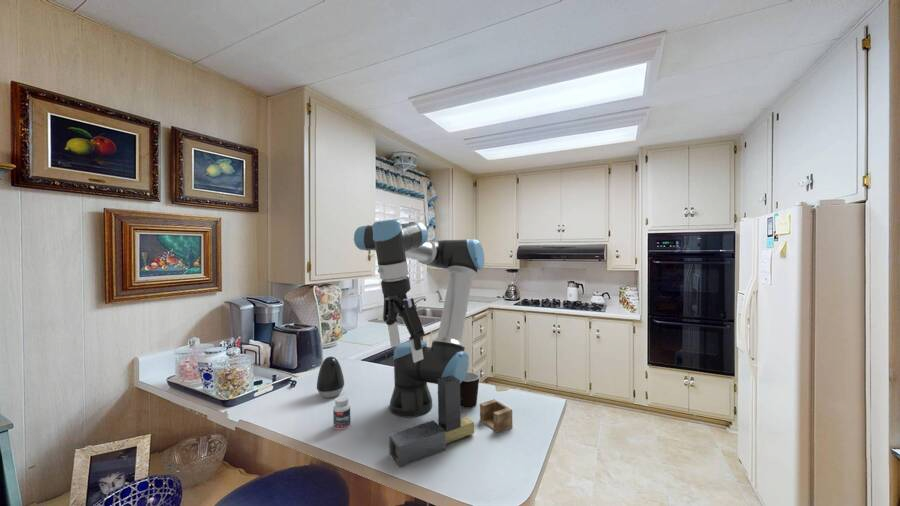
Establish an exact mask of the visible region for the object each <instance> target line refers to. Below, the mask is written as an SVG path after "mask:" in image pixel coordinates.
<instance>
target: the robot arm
mask: <svg viewBox="0 0 900 506" xmlns="http://www.w3.org/2000/svg"><path fill="white" fill-rule="evenodd" d="M428 238H429V233H428V229H427V227H426V225H424V224H423V223H422V222H419V221H410V222H408V223H401V221H400V220H399V218H393V219H386V220H377V221H375V222H373V223H372V225H369V224H367V225H363V226H362V225H361V226H359V227H358V228H356V229H355V231H354V233H353V242H354V245H355V247H356V249H359V250H360V251H375V254H376V260H377V268H378V269H377V271H376V272H377V273H378V274H379V278H380V280H381V281H380V284H381V285H380V286H381V292H382V295H383V315H382V319H383V321H384V322H385V324H386V325H387V329H388V335H389V337H388V338H389V342H390V347H391V348H393V349H394V351H393V373H394V375H393V376H394V377H393V378H394V388H393V391H392V394H391V397H390V399H389V400H390V401H389V410H390V412H391V413H392V414H394V415H395V416H398V417H403V418H407V417H408V418H412V417H419V416H421V415H425V414H427V413H428V412H430V411H431V409H432V408H433V398H432V395H431V391H430V389H429V386H428V384H434V385H438V379H439V378H443V377H447V376H451V375H452V376H454V377H456V378H458V379H459V380H460V384H461V382H462V381H463V380H464V378H465V376H466V373H467V372H468V370H469V364H470V361H469V360H470V359H469V354H468V353H467V352H466V349H465V348H466V347H465V345H464V344H463V342H462V341H463V335H464V329H465V322H466V318H467V317H466V316H467V311H468V305H469V297H470V293H471V292H470V290H471V286H472V280H473V279H474V278H476V277H477V275H478V271H481V270H482V269H483V267H484V266H485V253H484V249H483V246H482V244H481V242H480V241H479V240H478V239H470V238H466V239H443V240H441V239H440V240H429V239H428ZM407 259H411V260H415V261H416V260H417V261H418V263H420V264H422V265H426V266H430V267H433V268H437V269H443V270H446V272H447V274H449V276H448V277H449V278H448V282H447V287H446V293H445V297H444V304H443V308H442V312H441V318H440V324H439V328H438V329H439V330H438V332H437V337H436V338H435V339H433V340H432V342H431V346H427V345H428V344H427V342H426V341H425V340H422V339H421V337H423V336H425V331H424V328H423V325H422V321H421V319H420V316H419V314H418V311H417V308H416V306H415V305H416V304H415V301H414V298H413V297H411V298H408V296H407V293H408V292H410V290H412V289H411V288H412V287H411V282H410V277H409V276H408V275H409V269H408V268H409V266H408V262H407V261H408V260H407ZM398 316H399V317H401V318H402V321H403V323H404V325H405V327H406V329H407V331H408V334H409V335H410V337H409V338H408V341H404V342H402V343H401V338H400V331H399V325H398V323H397V322H398V319H397V317H398Z"/></svg>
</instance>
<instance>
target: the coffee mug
mask: <svg viewBox="0 0 900 506" xmlns="http://www.w3.org/2000/svg"><path fill="white" fill-rule="evenodd" d="M479 383H480V375H479V374H478V373H475V372H470V371H469V372H468V371H467V373H466V376H465V378H464V380H463V381H462V382H461V384H460V408H461V407H462V408H463V409H464V408H465V409H472V408H475V407H476V406H477V404H478V393H479Z"/></svg>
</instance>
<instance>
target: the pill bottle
mask: <svg viewBox="0 0 900 506" xmlns="http://www.w3.org/2000/svg"><path fill="white" fill-rule="evenodd" d="M334 401H335V402H334V403H335V405H334V406H333V410H332V412H333V415H332V416H333V417H332V418H333V419H332V421H333V423H332V424H333V428H334V429H335V430H338V431H341V430H346V429H348V428H349V427H350V426H351V404H349V397H348V396H346V395H343V396H338V397H336V398H335V400H334Z"/></svg>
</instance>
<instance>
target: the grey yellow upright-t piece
mask: <svg viewBox="0 0 900 506" xmlns="http://www.w3.org/2000/svg"><path fill="white" fill-rule="evenodd" d="M437 407H438V408H437V409H438V411H437V412H438V413H437V414H438V415H437V416H438V417H437V418H438V423H437V424H438V425H439V426H440V427H442V428H443V429H444V430H445V440H446V444H448V443H451V442H453V441H456V440H459V439H461V438H465V437H467V436H470V435H473V434H475V421H474V420H472V419H471V418H470V417H468V416H465V417H462V415H461V413H462V411H461V406H460V380H459V379H458V378H456V377H454V376H452V375H451V376H447V377H443V378H439V379H438V384H437ZM461 417H462V418H461ZM395 454H396V455H397V456H398V448H397V447H396V445H395Z"/></svg>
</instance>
